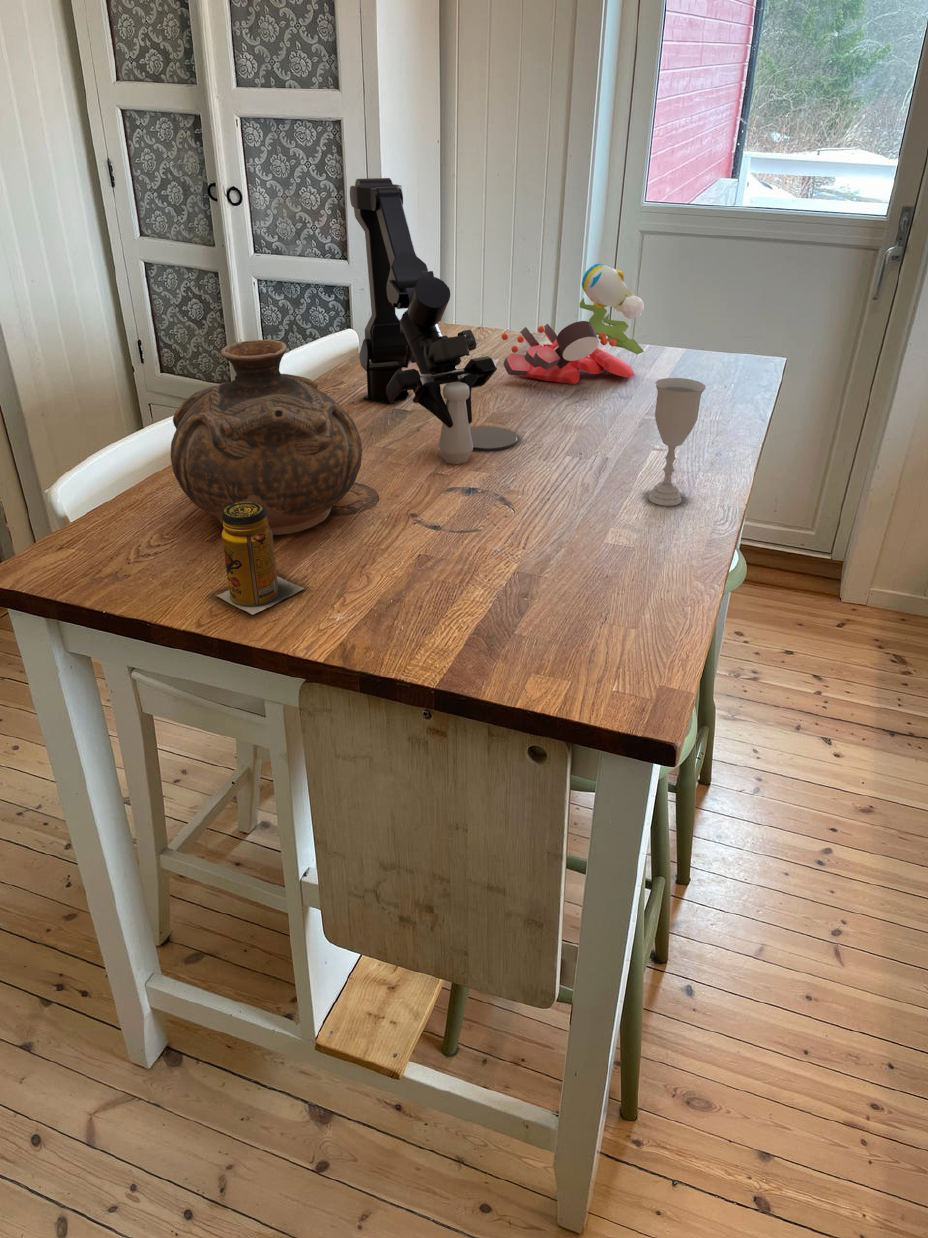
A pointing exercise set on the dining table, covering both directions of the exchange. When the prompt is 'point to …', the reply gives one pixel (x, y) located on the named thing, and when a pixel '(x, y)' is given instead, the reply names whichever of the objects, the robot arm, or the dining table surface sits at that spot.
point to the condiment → (251, 559)
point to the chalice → (674, 427)
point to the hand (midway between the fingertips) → (460, 424)
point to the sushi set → (582, 335)
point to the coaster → (492, 438)
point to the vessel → (265, 442)
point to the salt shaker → (456, 425)
